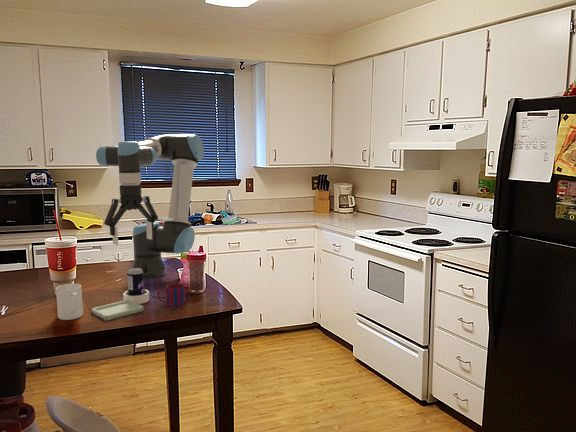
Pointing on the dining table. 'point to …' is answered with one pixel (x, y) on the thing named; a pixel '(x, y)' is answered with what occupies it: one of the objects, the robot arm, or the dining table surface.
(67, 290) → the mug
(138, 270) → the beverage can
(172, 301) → the cup
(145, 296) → the white round dish
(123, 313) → the tray
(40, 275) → the dining table surface
